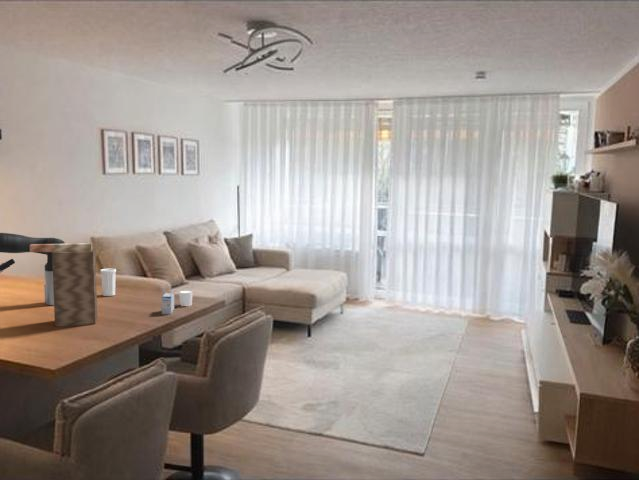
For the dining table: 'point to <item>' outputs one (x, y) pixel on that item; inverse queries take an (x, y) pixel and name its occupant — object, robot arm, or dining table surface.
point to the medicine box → (167, 303)
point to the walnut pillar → (74, 288)
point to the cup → (108, 281)
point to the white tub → (185, 298)
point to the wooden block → (60, 247)
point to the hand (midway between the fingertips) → (11, 262)
